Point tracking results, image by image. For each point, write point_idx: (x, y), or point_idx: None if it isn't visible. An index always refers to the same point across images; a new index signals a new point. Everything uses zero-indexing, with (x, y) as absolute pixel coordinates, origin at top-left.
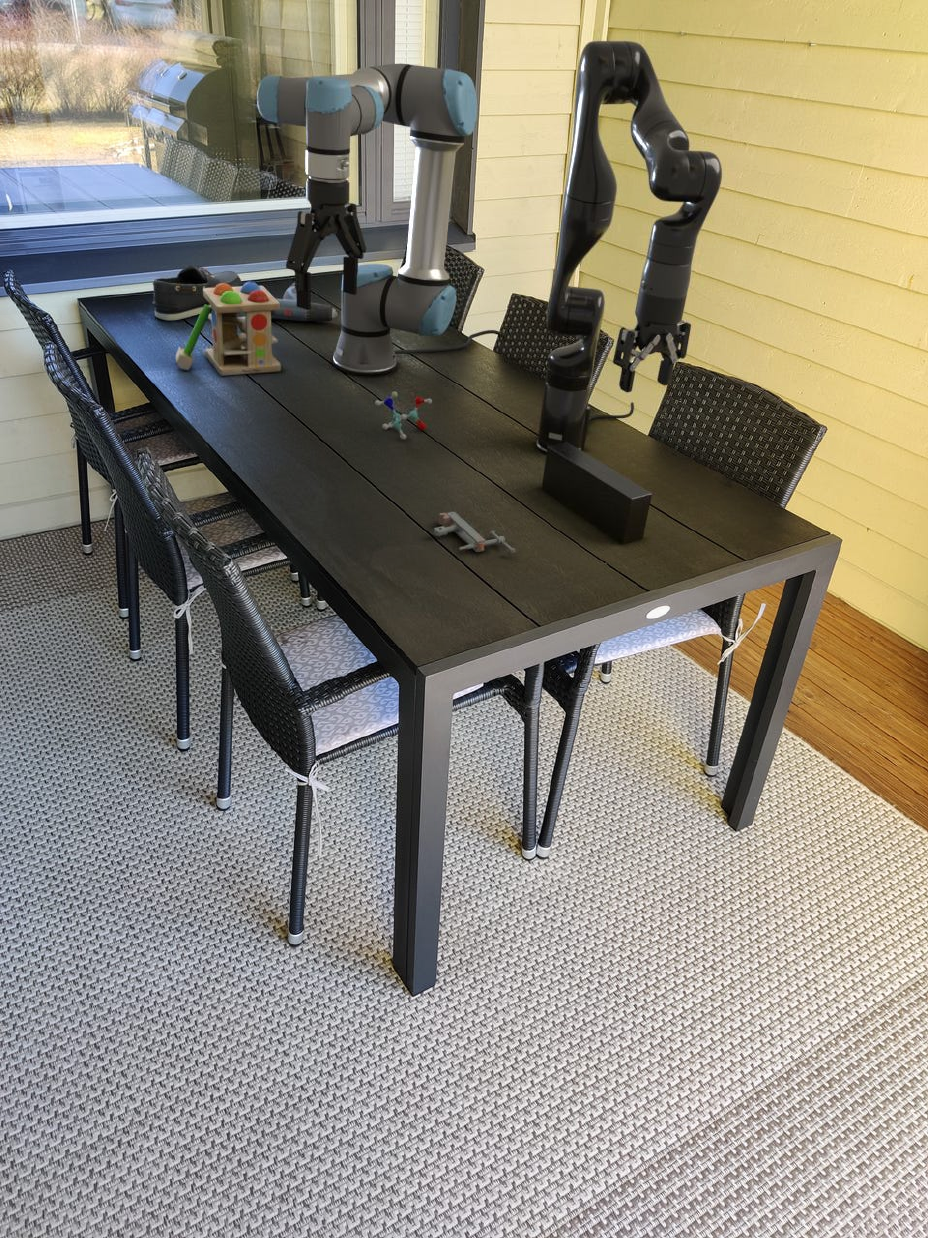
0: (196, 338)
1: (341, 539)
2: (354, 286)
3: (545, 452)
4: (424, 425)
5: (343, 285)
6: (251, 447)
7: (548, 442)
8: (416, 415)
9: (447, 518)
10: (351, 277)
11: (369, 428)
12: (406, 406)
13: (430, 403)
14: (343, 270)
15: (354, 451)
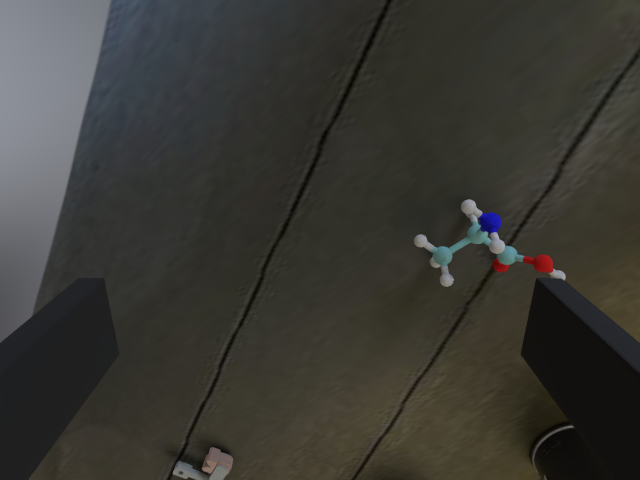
0: None
1: None
2: (546, 388)
3: (532, 447)
4: (501, 271)
5: (556, 301)
6: (186, 43)
7: (541, 465)
8: (504, 264)
9: (207, 471)
10: (582, 407)
11: (443, 175)
12: (605, 162)
13: None
14: (628, 364)
15: (327, 220)
